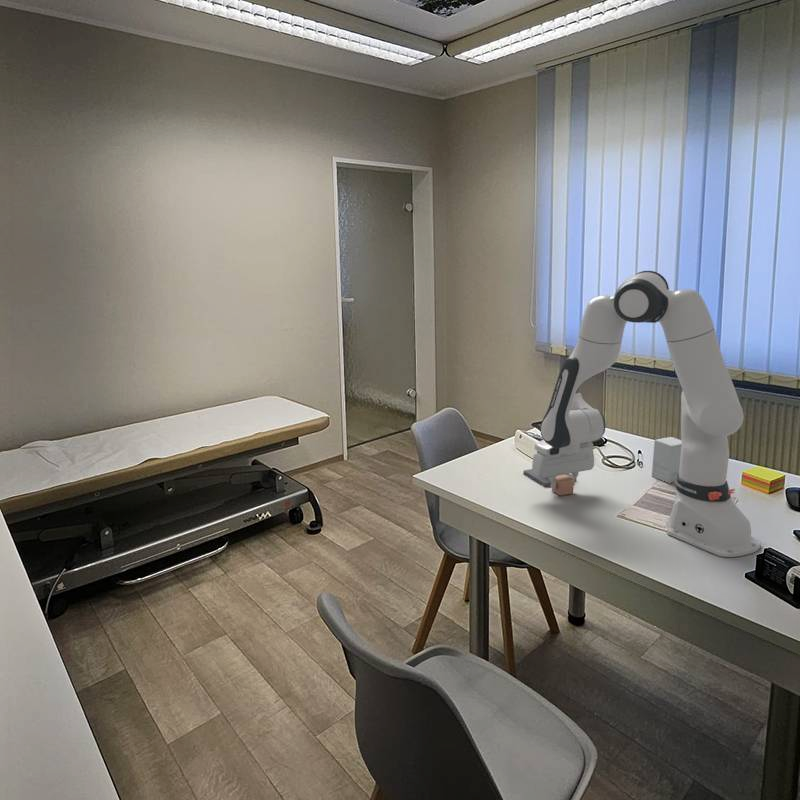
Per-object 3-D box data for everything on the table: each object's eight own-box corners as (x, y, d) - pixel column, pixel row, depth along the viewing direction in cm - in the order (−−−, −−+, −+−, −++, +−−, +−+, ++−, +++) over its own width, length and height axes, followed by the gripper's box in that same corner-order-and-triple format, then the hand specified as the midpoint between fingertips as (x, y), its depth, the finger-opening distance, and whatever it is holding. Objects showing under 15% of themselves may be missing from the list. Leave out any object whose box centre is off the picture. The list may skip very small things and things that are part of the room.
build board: (576, 480, 195) (576, 477, 195) (544, 486, 191) (544, 483, 191) (553, 468, 206) (554, 465, 206) (523, 473, 202) (523, 470, 201)
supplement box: (686, 480, 194) (690, 442, 191) (667, 484, 191) (671, 445, 188) (668, 472, 201) (671, 436, 198) (650, 476, 198) (653, 439, 195)
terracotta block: (573, 493, 185) (573, 479, 184) (560, 495, 183) (561, 481, 182) (564, 488, 189) (564, 474, 188) (551, 490, 187) (552, 476, 186)
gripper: (586, 436, 189) (584, 478, 192) (529, 445, 182) (528, 488, 185) (600, 442, 183) (597, 485, 187) (542, 451, 176) (540, 496, 179)
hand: (562, 486), depth 186 cm, fingers closed on terracotta block, 4 cm apart
